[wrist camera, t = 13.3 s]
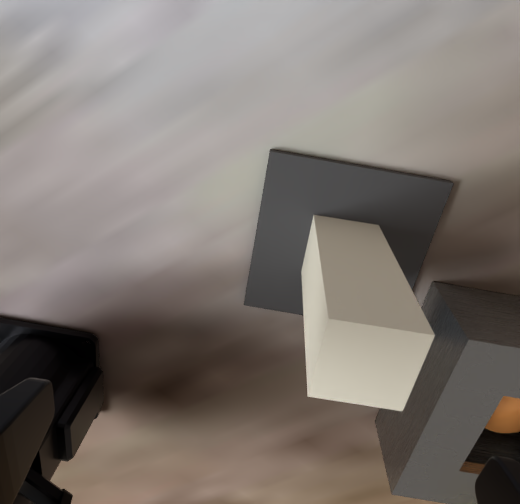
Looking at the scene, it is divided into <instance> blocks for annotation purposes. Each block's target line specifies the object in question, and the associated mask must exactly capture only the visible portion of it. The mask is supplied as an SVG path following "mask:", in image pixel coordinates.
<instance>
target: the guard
mask: <svg viewBox="0 0 520 504" xmlns="http://www.w3.org/2000/svg"><path fill="white" fill-rule="evenodd" d="M422 311H423V313H424V315H425V317H426V319H427V321H428V323H429V325H430V327H431V328H432V330H433V332H434V334H435V337H434V339H433V341H432V344H431V346H430V348H429V351H428V353H427V356H426V358H425V360H424V363H423V365H422V367H421V370H420V372H419V374H418V377H417V379H416V381H415V384H414V386H413V388H412V391H411V393H410V395H409V398H408V400H407V403H406V405H405V407H404V410H403V411H397V410H390V409H384V408H380V410H379V413H378V415H377V418H376V420H375V424H376V428H377V433H378V437H379V441H380V446H381V450H382V454H383V459H384V463H385V468H386V472H387V476H388V481H389V485H390V489H391V494H392V495H398V496H404V497H410V498H416V499H422V500H428V501H434V502H440V503H446V504H477V499H476V495H475V482H476V479H477V477H478V475H479V474H480V472H481V471H482V469H483V468H484V466H485V464H486V463H487V461H488V460H489V458H491V457H492V456H500V457H506V458H511V459H514V460H516V461H517V462H518V463H519V464H520V433H497V432H493V431H490V430H488V429H486V428H485V426H486V425H487V423H488V421H489V420H490V418H491V416H492V415H493V413H494V411H495V410H496V408H497V406H498V404H499V403H500V401H501V399H502V398H503V396H508V397H513V398H519V399H520V297H519V296H514V295H508V294H502V293H496V292H491V291H485V290H479V289H473V288H467V287H462V286H456V285H450V284H444V283H439V282H432V284H431V287H430V289H429V292H428V294H427V297H426V299H425V301H424V304H423V306H422Z"/></svg>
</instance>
